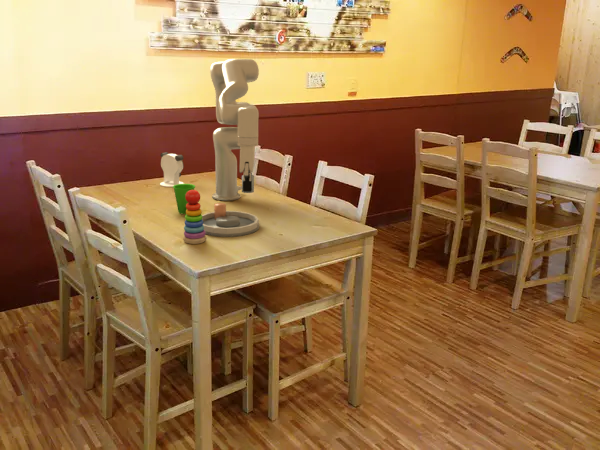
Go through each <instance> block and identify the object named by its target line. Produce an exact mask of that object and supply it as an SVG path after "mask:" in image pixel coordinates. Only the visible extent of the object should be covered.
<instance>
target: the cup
mask: <svg viewBox="0 0 600 450" xmlns="http://www.w3.org/2000/svg"><path fill="white" fill-rule="evenodd" d="M195 188H196V185H195V184H193V183H192V184H191V183H184V184H177V185H174V186H173V187H172V189H173V190H174V196H175V202H176V205H177V211H178V213H179V214H181V215H186V210H187V208H186V204H187V203H188V202H187V201H186V198H185V196H186V193H187V192H188V191H190V190H195Z"/></svg>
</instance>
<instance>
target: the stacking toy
mask: <svg viewBox="0 0 600 450" xmlns="http://www.w3.org/2000/svg"><path fill="white" fill-rule="evenodd" d="M185 198H186V201H187V202H188V203H187V204H186V208H187V210H186V214H184V215H185V216H184V220H185V221H184V226H183V235H184V236H183V237H182V239H183V242H184V243H186V244H189V245H196V244H197V245H198V244H203V243H204V242H205V241H206V240H207V237H206V232H205V230H204V226H203V220H202V215H203V213H202V212H203V211H202V209H201V206H202V205H201V203H199V202H200V201H201V193H199V191H198V190H196V189H194V190H190V191H188V192H187V193H186V196H185Z"/></svg>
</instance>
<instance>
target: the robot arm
mask: <svg viewBox="0 0 600 450" xmlns="http://www.w3.org/2000/svg"><path fill="white" fill-rule="evenodd" d="M209 68H210V69H209V73H210V78H211V82H212V85H213V87H214V91H215V117H216V120H217V122H218V123H219V124H221V125H227V126H228V127H227V126H226V127H224V126H223V127H218V128H216V129H215V130H213V133H212V140H213V147H214V155H215V157H214V158H215V162H214V163H215V192H214V193H213V194H212V196H211V197H212V199H213V200H217V201H226V202H227V201H228V202H229V201H236V200H239V199H240V198H241V194H240V193H239V191H240V190H241V191H242V185H238V159H237V157H236V154H234V153H233V152H232V150H239V173H240V174H242V173H243V191H244V192H251V191H252V181H251V175H253V173H254V169H255V162H256V161H255V156H256V147H258V146H259V117H260V116H259V115H260V114H259V109H258V108H257V106H256V105H254V104H251V103H249V102H248V101H237V100H239V99H241V98H243V97H244V96H246V95H247V92H248V91H249V85H248V84H249V83H253V82H255V81H257V80H258V78H259V74H260V68H259V65H258V62H256V60H254V59H251V58H250V59H249V58H230V59H226V60H225V61H216V62H213V63H211V65H210V67H209Z"/></svg>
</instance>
